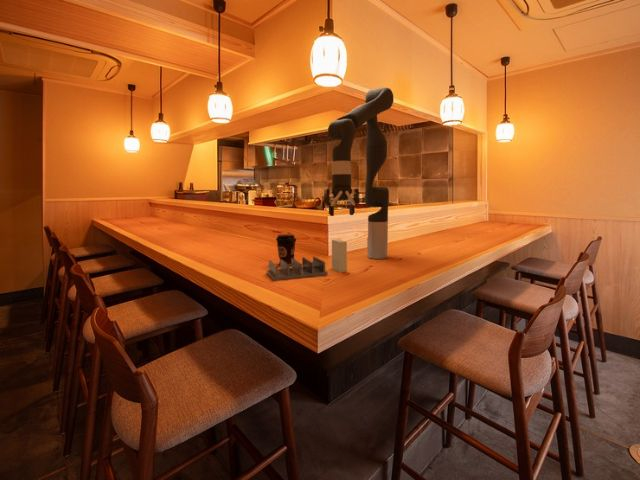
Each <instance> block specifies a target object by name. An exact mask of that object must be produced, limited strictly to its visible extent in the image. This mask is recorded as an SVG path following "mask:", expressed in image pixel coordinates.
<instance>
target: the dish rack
mask: <svg viewBox="0 0 640 480" xmlns="http://www.w3.org/2000/svg"><path fill="white" fill-rule="evenodd" d="M301 259H302V260H301V261H302V263H301V262H300V261H298V260H296V259H295V258H294V259H293V258H291V261H292V265H289V264H288V263H286V262H285V261H284V260H282V259H279V263H280V264H279V265H280V267H279V268H278V265H277V264H276V263H275V262H273V261H272V260H271V259H268V269H267V270H266V274H267V275H268V277H270V279H271V280H272V279H273V280H272V281H275V280H276V281H282V280H293V279H301V278H302V279H303V278H311V277H321V276H329V275H328V271H327V270H326V261H325V260H323V259H320V258H319V257H316V256H315V255H313V256H312V260H310V259H308V258H306V257H304V256H302V258H301Z"/></svg>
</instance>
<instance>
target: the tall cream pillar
mask: <svg viewBox="0 0 640 480" xmlns="http://www.w3.org/2000/svg"><path fill="white" fill-rule="evenodd" d="M347 243H348V242H347V241H346V240H342V239H339V238H334V239H331V269H333V270H334V271H337V272H339V273H347V272H348V265H347V264H348V260H347V259H348V252H347V251H348V248H347V247H348V245H347Z"/></svg>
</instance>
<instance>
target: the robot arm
mask: <svg viewBox="0 0 640 480" xmlns="http://www.w3.org/2000/svg"><path fill="white" fill-rule="evenodd" d="M394 98H395V97H394V92H393V91H392V89H391V88H389V87H379V88H373V89H369V90H368V91H367V92H366V95H365V101H364V102H365V103H363V104H360V105H358V106H356V107H354V108H353V109H352V110H350V111H349V112H348V113H347V114H345V115H342V116H340V117H338V118H336V119H334V120H333V121H331V122H330V123H329V125H328V127H327V133H328V136H329V138H330V139H331V140H335V141H339V140H340V142H339V144H338V145H335V146H334V147H333V148H332V165H331V189H329V188H324V192H323V193H324V194H323V204H324V205H325V206H328V214H329V216H330V217H334V215H335V207H334V205H335V203H336V202H338V201H341V200H342V201H346V202H347V203H348V204H349V205H348V206H349V209H348V210H349V212H348V213H349V216H354V214H355V213H356V212H355V208H356V205H358V204H360V190H359V188H352V157H351V155H352V152H351V151H352V148H353V143H354V139H355V135H356V130H358V129H360V127H362V126H363V125H364V124H365V123H366V143H365V144H366V145H365V147H366V151H365V153H366V156H365V157H366V158H365V159H366V163H365V166H366V174H365V176H366V178H365V189H364V190H365V191H364V202H365V205H366V206H367V207H369V208H376V207H378V208H379V207H380V209H379V210H378V211H376V212H374V213H371V214H368V216H367V245H366V246H367V252H366V256H367V258H369V259H374V260H377V259H378V260H380V259H381V260H382V259H383V260H384V259H387V258H388V249H389V248H388V247H389V246H388V238H389V237H388V236H389V234H388V232H389V231H388V229H389V201H390V200H389V199H390V190H389V188H388V187H387V186H373V184H374V181H375V179H376V176H377V175H378V173H379V171H380V170H381V168H383V165H384V164H385V162H386V160H387V156H388V141H387V138H386V136H385V134H384V132H383V131H382V129H381V127H380V125H379V121H378V115H379V114H381V113H383V112H386V111H388V110H390V109H391V108H392V106H393V104H394ZM331 194H332V196H331V198H330V195H331ZM351 194H352V196H353V197H352V196H351Z"/></svg>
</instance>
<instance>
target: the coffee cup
mask: <svg viewBox="0 0 640 480" xmlns="http://www.w3.org/2000/svg"><path fill="white" fill-rule="evenodd" d="M275 240H276V243H277V244H276V246H277V255H278V259H279V260H280V259H282V260H284V261H285V262H286V263H288V264H289V265H290V266H292V261H291V258H293V259H295V251H296V247H295V246H296V241H297V238H296V237H295V235H294V234H277V237H276V239H275ZM278 263H279V265H280V262H278Z"/></svg>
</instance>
